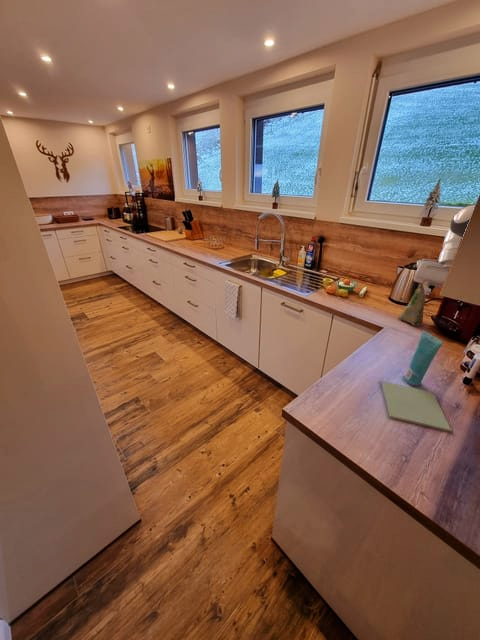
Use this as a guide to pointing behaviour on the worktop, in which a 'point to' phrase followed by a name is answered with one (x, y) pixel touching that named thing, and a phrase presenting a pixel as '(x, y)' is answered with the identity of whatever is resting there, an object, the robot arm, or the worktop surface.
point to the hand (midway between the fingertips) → (442, 297)
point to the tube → (422, 358)
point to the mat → (414, 406)
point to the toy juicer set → (341, 287)
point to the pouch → (415, 307)
